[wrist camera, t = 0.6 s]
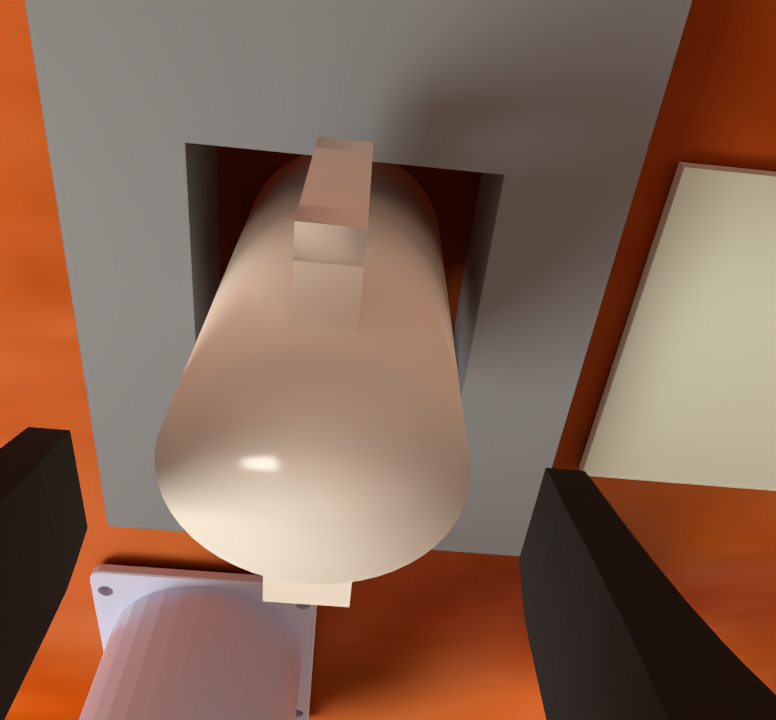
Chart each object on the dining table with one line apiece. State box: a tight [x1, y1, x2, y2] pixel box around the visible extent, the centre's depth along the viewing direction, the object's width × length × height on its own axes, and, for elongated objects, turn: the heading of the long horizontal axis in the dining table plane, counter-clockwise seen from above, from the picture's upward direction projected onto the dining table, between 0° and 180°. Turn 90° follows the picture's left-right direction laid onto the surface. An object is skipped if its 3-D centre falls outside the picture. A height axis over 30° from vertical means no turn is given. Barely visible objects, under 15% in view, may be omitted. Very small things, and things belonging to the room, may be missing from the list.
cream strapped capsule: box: [155, 137, 470, 607], centre depth 15 cm, size 7×5×9 cm
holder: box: [25, 0, 692, 556], centre depth 18 cm, size 16×12×3 cm
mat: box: [579, 162, 776, 491], centre depth 21 cm, size 10×8×1 cm
